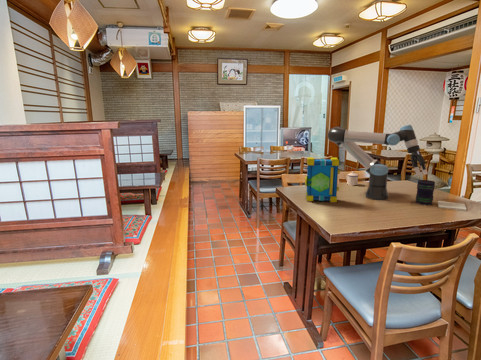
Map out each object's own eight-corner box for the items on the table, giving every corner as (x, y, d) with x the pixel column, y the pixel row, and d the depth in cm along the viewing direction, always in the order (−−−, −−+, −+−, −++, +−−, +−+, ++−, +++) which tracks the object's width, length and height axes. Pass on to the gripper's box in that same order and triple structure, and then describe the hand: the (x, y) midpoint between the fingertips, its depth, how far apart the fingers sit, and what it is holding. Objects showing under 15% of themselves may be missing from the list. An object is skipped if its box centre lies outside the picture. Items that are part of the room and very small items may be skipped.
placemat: (438, 207, 178) (438, 206, 178) (437, 202, 190) (437, 200, 190) (466, 211, 171) (466, 209, 171) (463, 205, 182) (464, 203, 182)
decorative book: (304, 197, 207) (305, 156, 201) (337, 198, 202) (339, 157, 196) (304, 202, 193) (306, 159, 187) (339, 204, 189) (342, 159, 183)
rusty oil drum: (436, 205, 183) (439, 183, 180) (420, 205, 184) (423, 183, 181) (426, 201, 193) (429, 179, 190) (412, 201, 193) (414, 180, 190)
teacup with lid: (360, 185, 242) (361, 172, 240) (352, 186, 239) (353, 173, 236) (349, 182, 253) (350, 170, 251) (341, 183, 250) (342, 170, 247)
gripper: (424, 141, 185) (435, 172, 182) (412, 147, 209) (422, 174, 206) (412, 145, 187) (422, 175, 184) (402, 150, 211) (411, 177, 208)
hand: (422, 175), depth 195 cm, fingers open, 13 cm apart
